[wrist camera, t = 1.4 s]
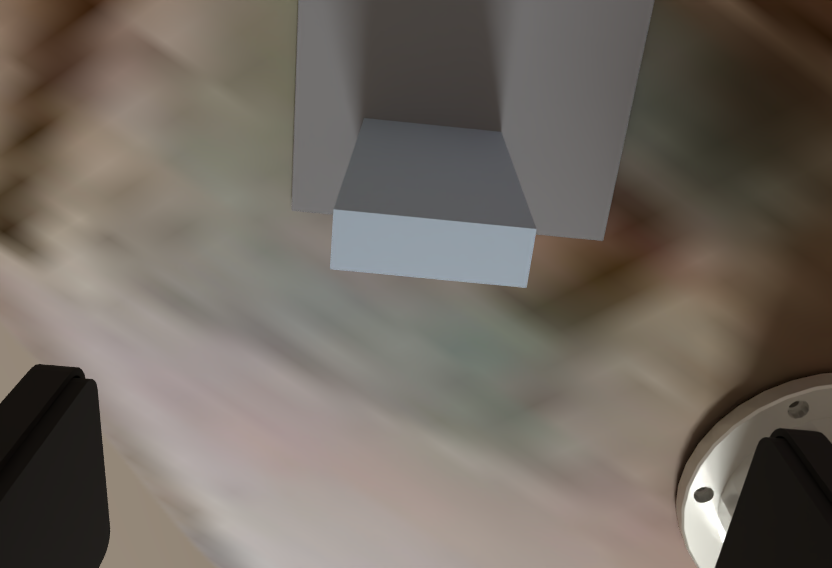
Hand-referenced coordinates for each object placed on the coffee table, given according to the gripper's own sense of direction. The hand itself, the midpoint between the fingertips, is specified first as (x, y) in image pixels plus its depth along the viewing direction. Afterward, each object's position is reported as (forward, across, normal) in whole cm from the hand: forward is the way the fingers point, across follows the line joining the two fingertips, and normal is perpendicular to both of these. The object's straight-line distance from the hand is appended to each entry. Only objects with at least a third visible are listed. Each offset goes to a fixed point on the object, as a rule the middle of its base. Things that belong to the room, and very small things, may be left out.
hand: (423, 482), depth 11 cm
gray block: (+19, 0, 0) cm, 19 cm away
